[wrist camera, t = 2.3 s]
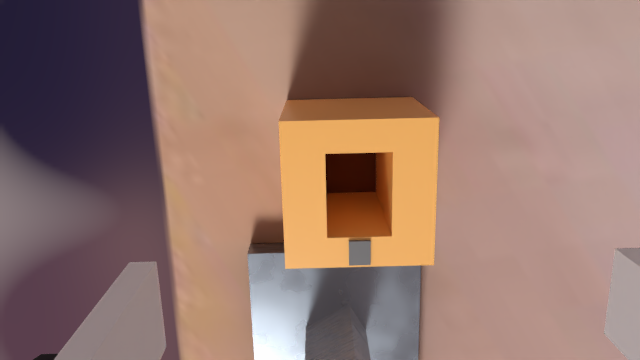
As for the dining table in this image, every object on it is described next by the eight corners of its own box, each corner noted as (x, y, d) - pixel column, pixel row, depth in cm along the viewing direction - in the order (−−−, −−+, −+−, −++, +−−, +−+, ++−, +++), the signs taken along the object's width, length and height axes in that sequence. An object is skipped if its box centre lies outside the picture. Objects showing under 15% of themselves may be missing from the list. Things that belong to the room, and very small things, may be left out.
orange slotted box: (286, 100, 31) (278, 121, 24) (411, 96, 31) (440, 117, 24) (291, 218, 32) (284, 270, 26) (409, 215, 32) (434, 266, 26)
